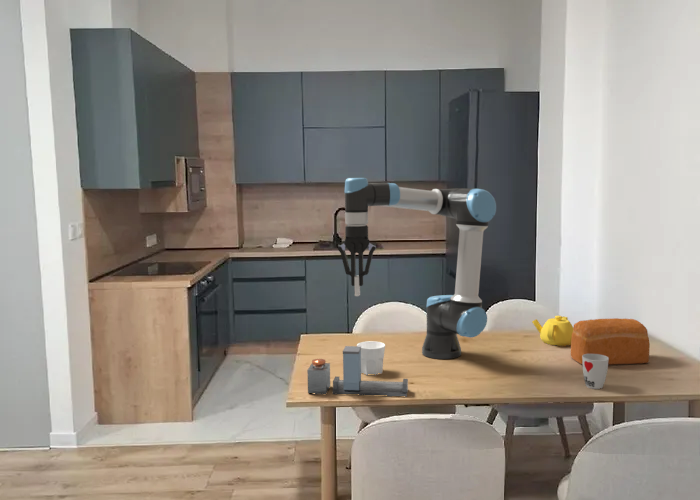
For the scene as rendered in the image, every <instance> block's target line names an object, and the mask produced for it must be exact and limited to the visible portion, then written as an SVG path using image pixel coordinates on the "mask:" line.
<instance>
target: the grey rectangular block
mask: <svg viewBox="0 0 700 500" xmlns="http://www.w3.org/2000/svg"><path fill="white" fill-rule="evenodd" d="M342 370H343V371H342V373H343V374H342V375H343V376H342V377H343V378H342V380H343V383H344V390H359V382H360V381H362V373H361V346H357V345H356V346H354V345H352V346H350V345H345V346H344V348H343V350H342Z"/></svg>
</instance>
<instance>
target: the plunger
mask: <svg viewBox="0 0 700 500" xmlns="http://www.w3.org/2000/svg"><path fill="white" fill-rule="evenodd" d="M326 363H327V362H326V359H324V358H315V359H312V361H311V364H312V365H314V368H323V365H325V364H326Z"/></svg>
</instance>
